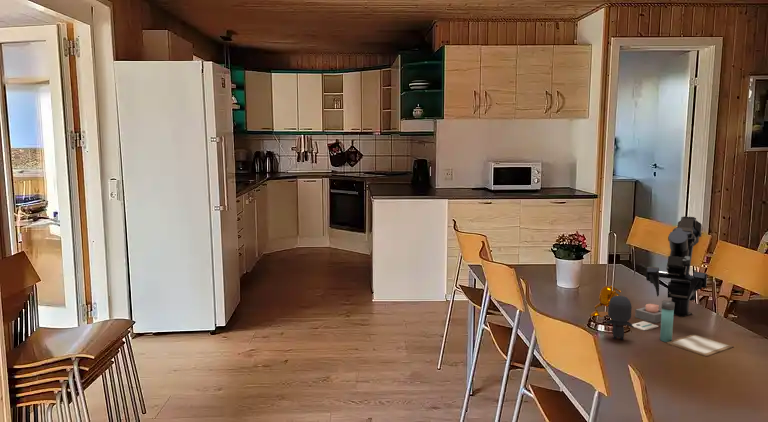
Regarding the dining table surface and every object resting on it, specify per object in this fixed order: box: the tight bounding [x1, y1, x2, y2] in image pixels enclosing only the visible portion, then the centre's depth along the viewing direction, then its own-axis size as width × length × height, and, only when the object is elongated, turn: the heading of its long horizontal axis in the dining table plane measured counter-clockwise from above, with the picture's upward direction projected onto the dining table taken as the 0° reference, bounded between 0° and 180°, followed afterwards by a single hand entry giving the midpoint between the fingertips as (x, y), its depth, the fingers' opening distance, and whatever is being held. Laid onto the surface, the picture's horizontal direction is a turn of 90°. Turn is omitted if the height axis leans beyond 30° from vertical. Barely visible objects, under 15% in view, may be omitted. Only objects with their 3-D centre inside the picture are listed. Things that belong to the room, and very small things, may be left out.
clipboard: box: [666, 333, 734, 358], centre depth 184 cm, size 15×13×1 cm
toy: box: [603, 294, 635, 341], centre depth 189 cm, size 9×8×15 cm
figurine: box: [589, 285, 623, 317], centre depth 212 cm, size 8×11×12 cm
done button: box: [645, 303, 660, 313], centre depth 211 cm, size 4×4×4 cm
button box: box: [634, 306, 662, 324], centre depth 211 cm, size 8×8×3 cm
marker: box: [659, 300, 675, 343], centre depth 188 cm, size 4×4×13 cm
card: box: [631, 320, 659, 332], centre depth 203 cm, size 8×6×1 cm
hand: (672, 297), depth 193 cm, fingers open, 9 cm apart
